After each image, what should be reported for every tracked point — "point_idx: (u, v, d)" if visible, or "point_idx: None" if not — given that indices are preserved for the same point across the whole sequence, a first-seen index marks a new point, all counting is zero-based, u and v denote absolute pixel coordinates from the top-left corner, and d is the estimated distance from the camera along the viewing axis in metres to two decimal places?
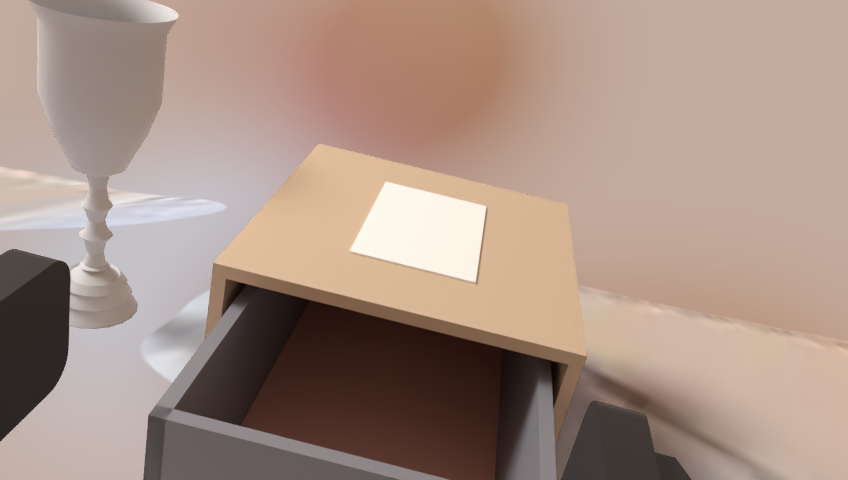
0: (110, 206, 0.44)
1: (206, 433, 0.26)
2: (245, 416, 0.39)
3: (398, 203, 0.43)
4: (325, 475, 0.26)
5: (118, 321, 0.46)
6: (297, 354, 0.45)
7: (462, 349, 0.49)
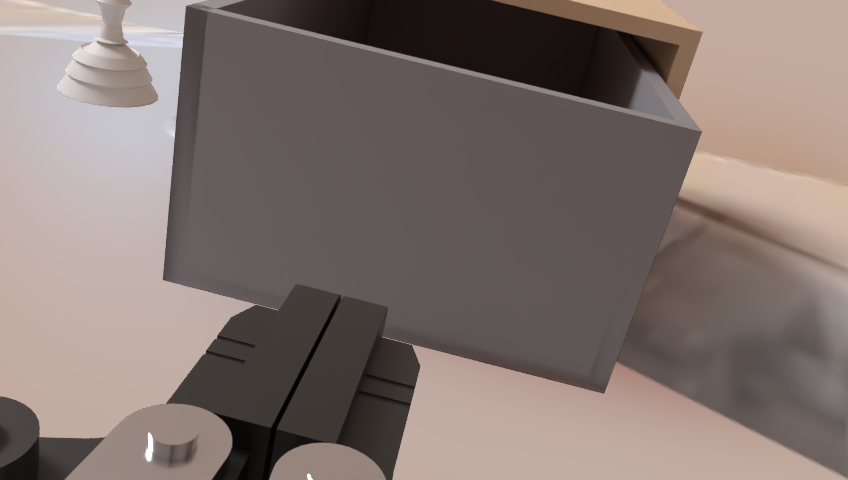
0: None
1: (258, 29, 0.21)
2: None
3: None
4: (406, 83, 0.21)
5: (137, 103, 0.41)
6: None
7: None
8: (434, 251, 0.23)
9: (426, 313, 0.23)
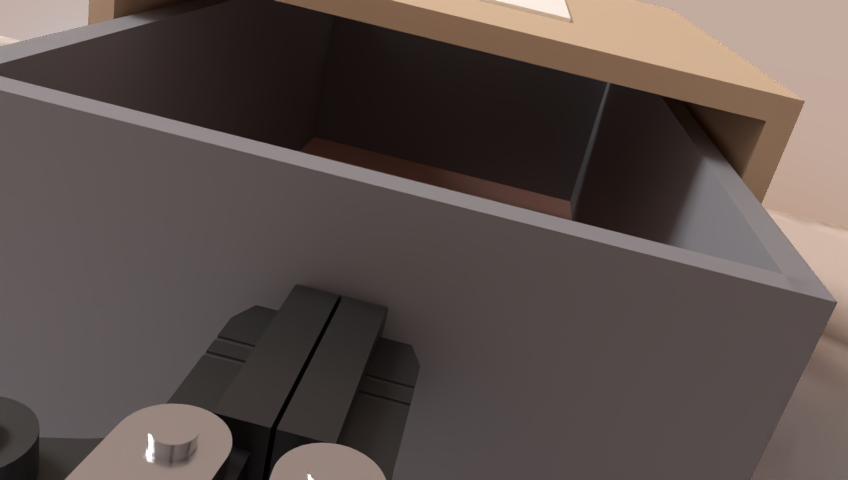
0: None
1: (40, 110, 0.12)
2: None
3: None
4: (304, 206, 0.12)
5: None
6: None
7: None
8: None
9: None
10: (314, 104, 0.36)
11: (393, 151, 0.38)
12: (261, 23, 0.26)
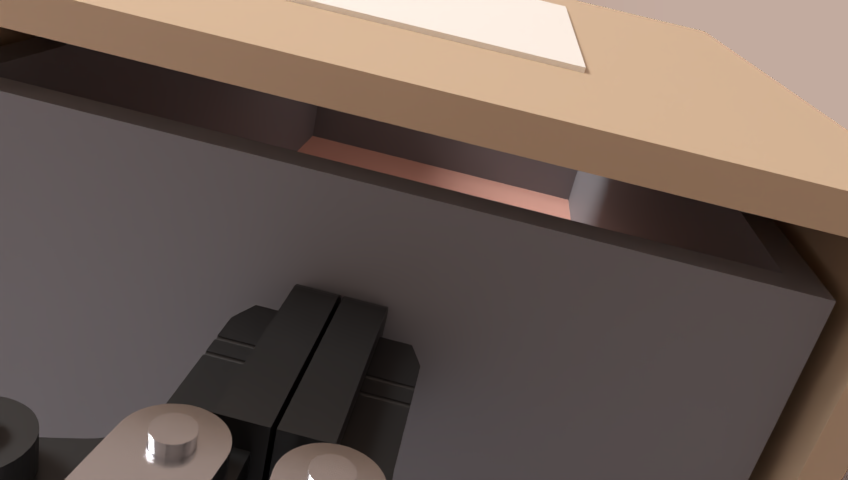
0: None
1: (39, 110, 0.12)
2: None
3: None
4: (303, 206, 0.12)
5: None
6: None
7: None
8: None
9: None
10: None
11: (392, 150, 0.38)
12: None
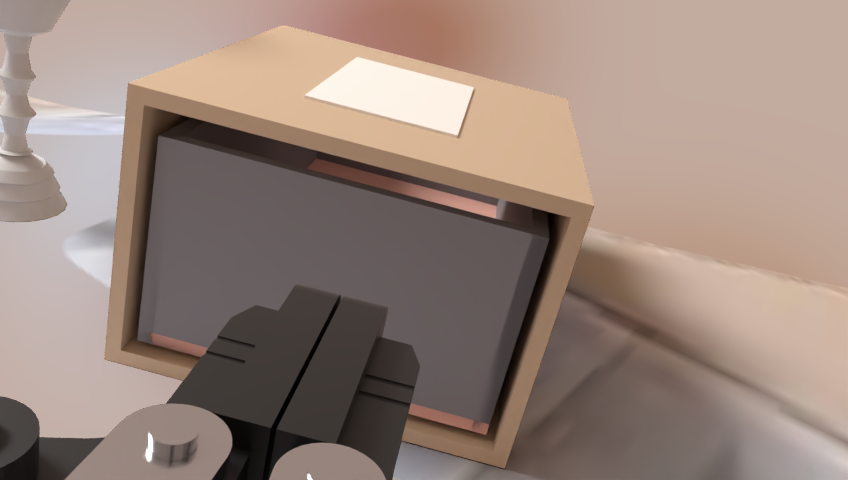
0: (32, 76, 0.38)
1: (213, 154, 0.27)
2: None
3: (370, 72, 0.36)
4: (326, 196, 0.27)
5: (40, 217, 0.39)
6: None
7: None
8: None
9: None
10: None
11: (372, 169, 0.53)
12: None
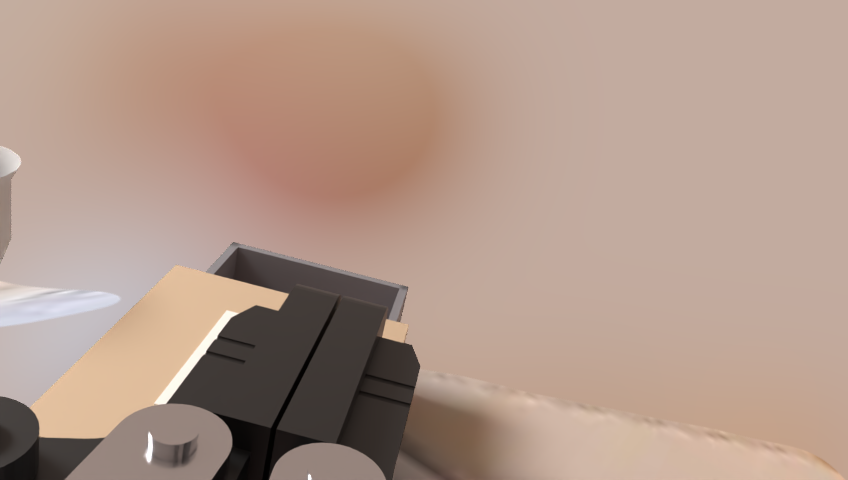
0: None
1: None
2: None
3: None
4: None
5: None
6: None
7: None
8: None
9: None
10: None
11: None
12: None
